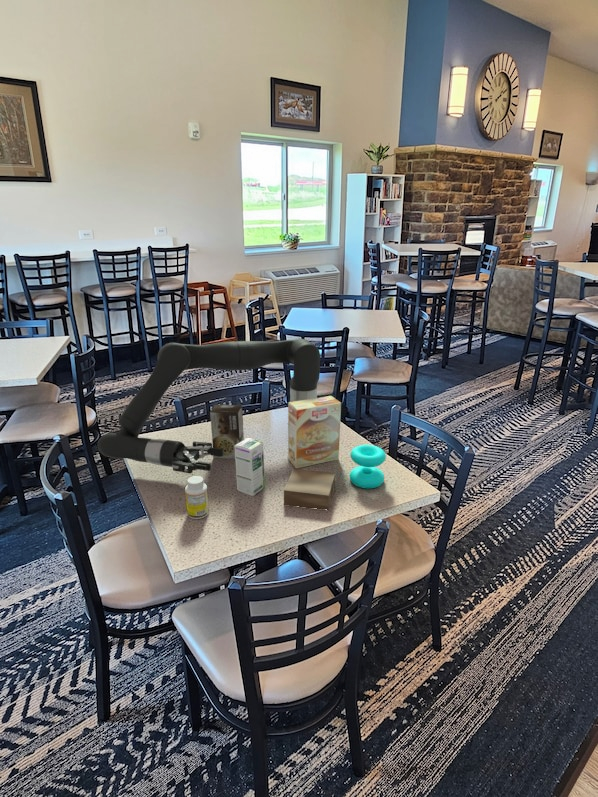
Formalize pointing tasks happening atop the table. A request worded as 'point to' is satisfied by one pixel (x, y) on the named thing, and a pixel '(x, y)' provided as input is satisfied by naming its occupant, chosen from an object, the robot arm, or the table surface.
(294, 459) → the coffeecake box
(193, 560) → the table surface
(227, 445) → the coffee box
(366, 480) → the donuts
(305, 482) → the walnut riser
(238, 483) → the syrup box
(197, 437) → the table surface
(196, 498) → the supplement bottle
